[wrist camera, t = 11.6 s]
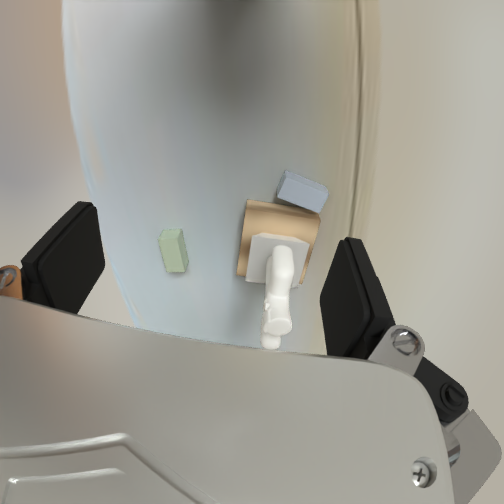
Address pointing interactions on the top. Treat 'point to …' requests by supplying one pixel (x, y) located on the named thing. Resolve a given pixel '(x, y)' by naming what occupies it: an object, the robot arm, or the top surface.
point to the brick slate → (302, 191)
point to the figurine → (276, 280)
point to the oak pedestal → (277, 227)
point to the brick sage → (173, 250)
